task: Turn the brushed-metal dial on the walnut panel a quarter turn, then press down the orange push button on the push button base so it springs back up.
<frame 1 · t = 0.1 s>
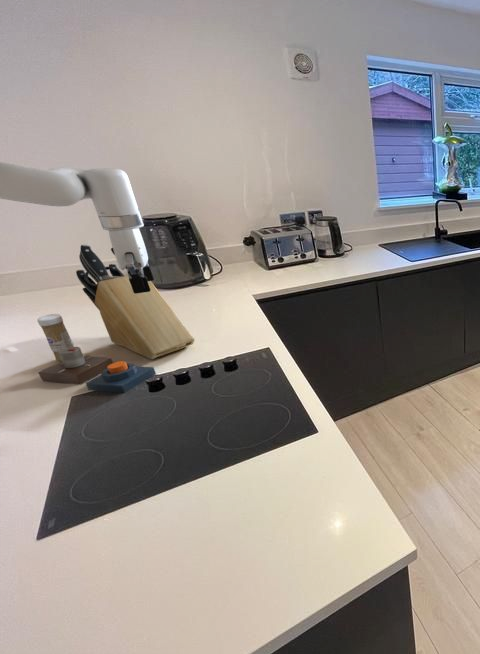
hand: (144, 286, 104), 25 cm above the worktop, tool pointing down, fingers open, 9 cm apart
sprinkles bottle: (68, 358, 117), on the worktop
push button base: (123, 381, 107), on the worktop
knife block: (147, 342, 127), on the worktop
dial: (72, 356, 108), point 5 cm above the worktop, hinge at 0.0°
dial panel: (80, 373, 110), on the worktop
orange push button: (117, 367, 105), point 4 cm above the worktop, slide at 0.1 cm
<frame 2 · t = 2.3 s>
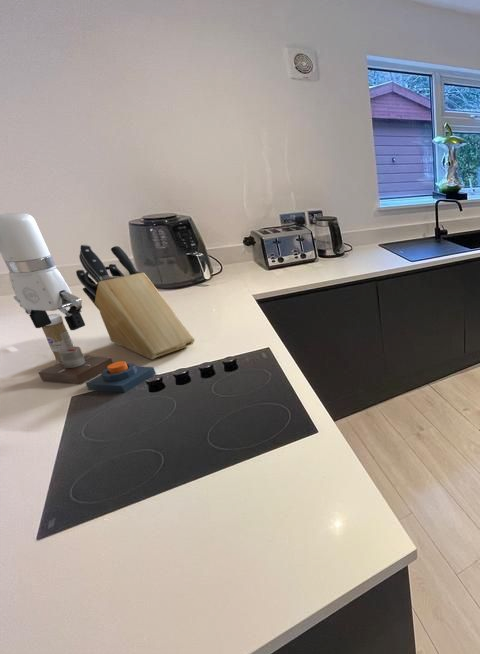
hand: (61, 326, 104), 14 cm above the worktop, tool pointing down, fingers open, 9 cm apart
nothing on the worktop moved.
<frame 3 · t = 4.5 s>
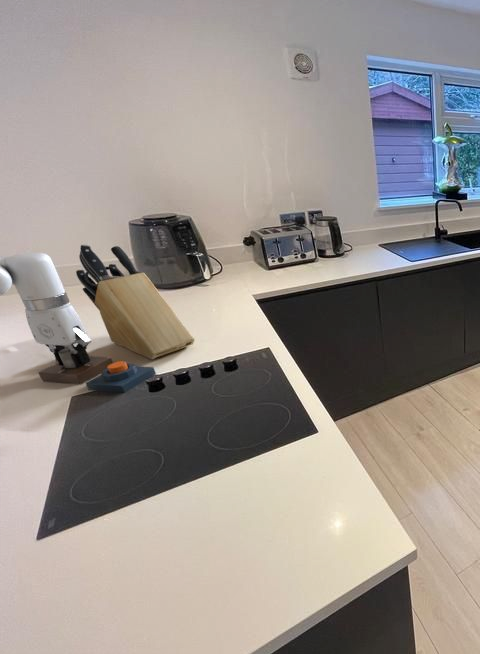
hand: (75, 363, 108), 4 cm above the worktop, tool pointing down, fingers closed on dial, 4 cm apart
dial: (72, 356, 108), point 5 cm above the worktop, hinge at -0.2°, touching gripper
everything else where it was.
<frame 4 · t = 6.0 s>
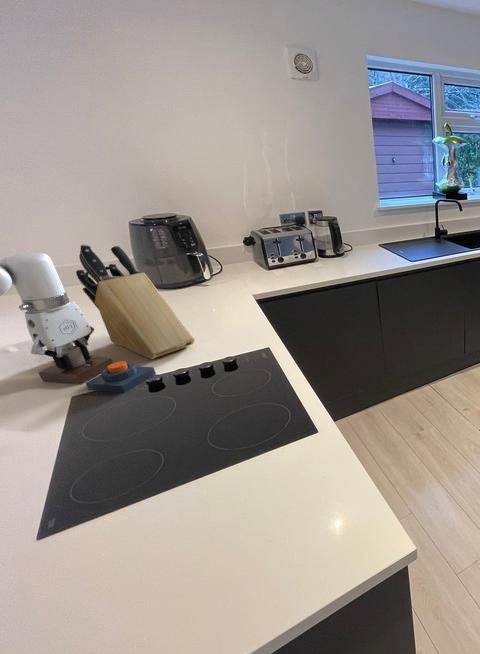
hand: (75, 363, 108), 3 cm above the worktop, tool pointing down, fingers closed on dial, 4 cm apart
dial: (72, 356, 108), point 5 cm above the worktop, hinge at 90.2°, touching gripper
everything else where it was.
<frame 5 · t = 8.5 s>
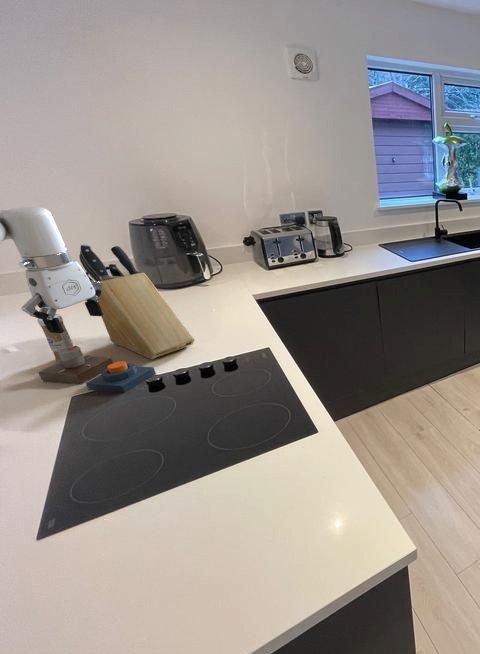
hand: (78, 323, 103), 16 cm above the worktop, tool pointing down, fingers open, 9 cm apart
dial: (72, 356, 108), point 5 cm above the worktop, hinge at 90.4°
everything else where it was.
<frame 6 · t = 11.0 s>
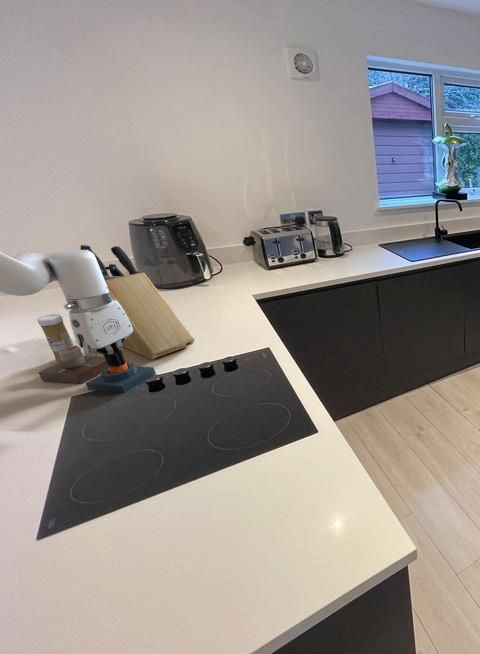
hand: (117, 364, 105), 5 cm above the worktop, tool pointing down, fingers closed
orange push button: (117, 367, 105), point 4 cm above the worktop, slide at 0.0 cm, touching gripper
everything else where it was.
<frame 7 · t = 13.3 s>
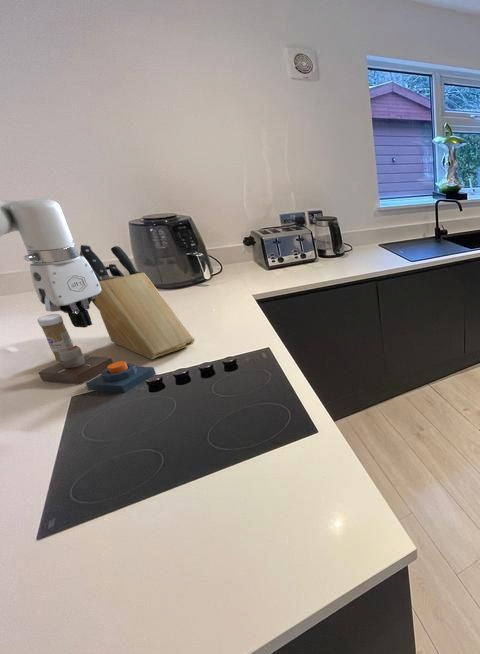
hand: (83, 325, 99), 17 cm above the worktop, tool pointing down, fingers closed
orange push button: (117, 367, 105), point 4 cm above the worktop, slide at 0.1 cm
everything else where it was.
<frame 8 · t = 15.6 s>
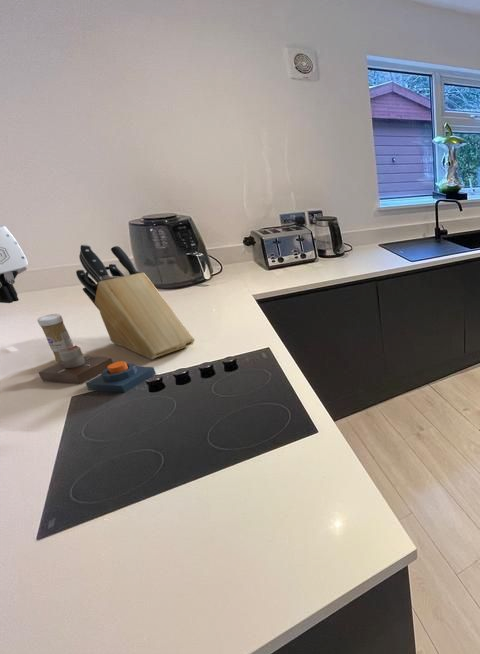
hand: (8, 301, 92), 25 cm above the worktop, tool pointing down, fingers closed
nothing on the worktop moved.
at the end: dial at +90° (first picture: +0°); orange push button pushed in 1.1 cm at the most during the clip, back to where it started at the end; orange push button slide at 0.1 cm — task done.
